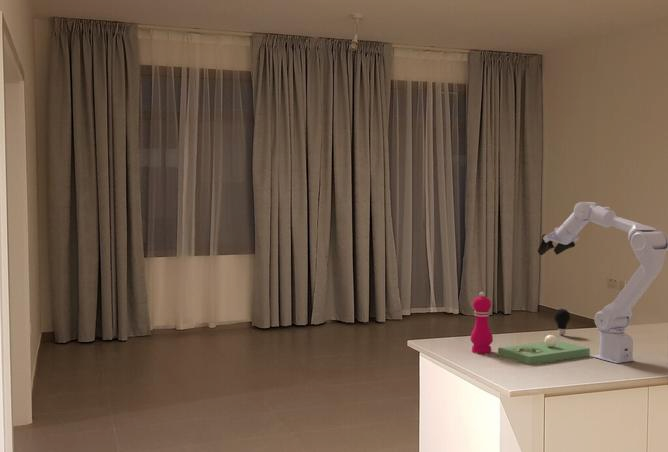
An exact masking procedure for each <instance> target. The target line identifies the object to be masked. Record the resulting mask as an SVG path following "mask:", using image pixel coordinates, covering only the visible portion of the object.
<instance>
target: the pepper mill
mask: <svg viewBox="0 0 668 452" xmlns="http://www.w3.org/2000/svg"><path fill="white" fill-rule="evenodd" d="M478 294H479V296H477V297H475V298H474V299H473V301H472V307H473V309H474V311H473V312H474V314H473V315H474V316H475V325H474V328H473V330H472V332H471V334H470V341H471V343H472V344H473V345H472V346H471V351H472V352H473V353H475V354H485V353H487V354H491V353H492V346H491V344H492V343H493V340H494V338H493V333H492V331H491V329H490V327H489V316H490V311H489V310H490V309H491V308H492V301H491V299H489V298H488V297H486V295H485V294H486V293H485V292H484V291H480V292H479V293H478ZM485 355H486V354H485Z"/></svg>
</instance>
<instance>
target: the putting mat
mask: <svg viewBox="0 0 668 452" xmlns="http://www.w3.org/2000/svg"><path fill="white" fill-rule="evenodd" d="M498 355H499V356H498ZM590 355H591V351H590V347H586V346H583V345H577V344H575V343H570V342H566V341H562V340H558V339H557V344H556V346H554V347H548V346H547V345H546V344H545V342H544V341H543V342H542V341H541V342H534V343H525V344H518V345H510V346H503V347H498V348H497V356H498V357H501V356H502V358H505V359H509V360H512V361H516V362H518V363H521V364H525V365H528V366H530V365H531V366H532V365H538V364H544V362H546V363H551V361H553V362H557V361H556V360H559V361H564V359H566V360H571V359H577V358H578V359H579V358H584V357H590Z"/></svg>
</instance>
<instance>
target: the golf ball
mask: <svg viewBox="0 0 668 452" xmlns="http://www.w3.org/2000/svg"><path fill="white" fill-rule="evenodd" d="M557 340H558V339H557V337H556V336H555V335H553V334H548V335H546V336H545V337H544V341H543V342H545V344H546V345H547V346H548V347H554V346H556V344H557Z"/></svg>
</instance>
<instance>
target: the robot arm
mask: <svg viewBox="0 0 668 452" xmlns="http://www.w3.org/2000/svg"><path fill="white" fill-rule="evenodd" d="M589 222H591V223H594V224H596V225H599V226H601V227H603V228H610V227H614V228H616V229H617V230H621V231H623V232H624V233H627V234H628V236H627V240H628V241H630V247H631V249H632V251H633V252H634V255H635V257H636V260H637V261H638V263H640V265H639V266H638V268H637V269H636V270H635V272H634V273H633V274H632V276H631V277H630V279H629V280H628V281H627V283H626V284H625V285H624V286H623V289H621V291H620V292H619V293H618V295H617V296H616V298H615V299H614V301H612V302H610V303H609V304H607V305H605V306H604V307H603V309H601V310H598V311H597V312H596V313H595V315H594V323H595V326H596V328H597V331H598V332H599V347H598V348H599V349H598V350H599V352H598V353H599V354H596V355H593V356H592V358H596V359H598V360H604V361H607V362H610V363H614V364H621V363H627V362H633V361H635V358H634V357H633V354H634V353H633V352H634V348H633V347H634V342H633V337H632V336H631V335H630V334H627V333H626V332H627V331H626V330H627V329H626V328H627V327H628V326H629V325H630V322H631V318H632V316H633V315H634V314H633V311H632V309H633V308H634V306H635V305H636V304H637V302H638V301H639V300H640V298H641V297H642V296H643V294H645V292H646V291H647V289H648V288H649V287H650V286H651V284H653V282H654V281H655V279H656V278H657V276H658V275H659V274H660V273H661V271H662V270H663V267H664V263H665V258H666V253H667V252H668V235H667V234H666V233H665V232H663V231H661V230H657V229H656V228H655V227H652V226H650V225H645V224H642V223H640V222H636V221H633V220H629V219H627V218H624V217H620V216H617V214H616V212H615V211H614V210H611V207H609V206H604V207H603V206H601V205H598V203H597V202H594V201H580V202H579V201H578V203H575V204H574V208H573V212H572V213H570V215H569V217H567V218H566V220H564V222H562V224H561V225H560V226H559V227H555V228H554V231H552V232H550V233H544V234H542V235H541V242H540V245H539V247H538V249H537V253H538V254H539V256H542V255H544V254H546V253H547V252H549V250H551V249H553V252H554V253H555V255H556V256H557V255H560V254H561V253H563V252H564V251H566V250H569V249H571V248H574V247H575V246H576V244H575V243H576V242H577V241H578V240H579V239H580V237H579V235H578V233H579V232H581V230H582V229H583V228H585V226H586V225H587V224H588V223H589ZM554 242H555V243H557V245H555V246H554V244H553V243H554Z"/></svg>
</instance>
